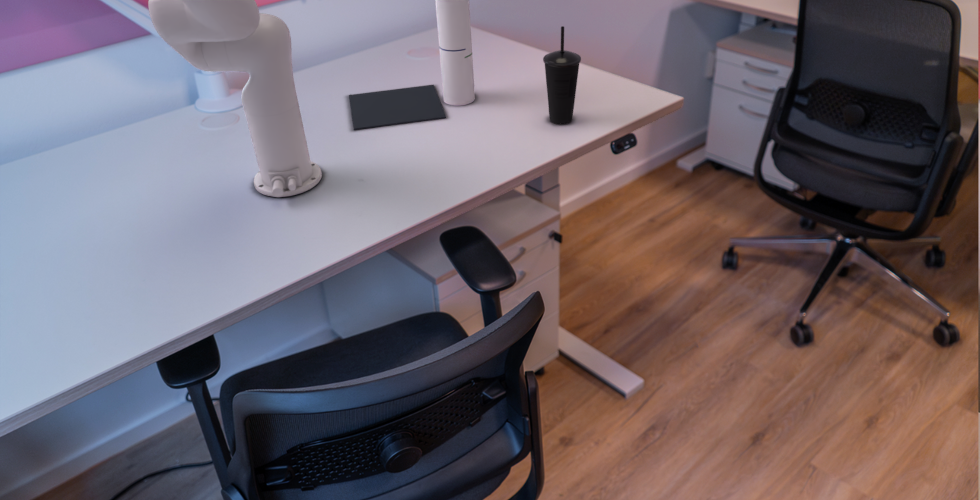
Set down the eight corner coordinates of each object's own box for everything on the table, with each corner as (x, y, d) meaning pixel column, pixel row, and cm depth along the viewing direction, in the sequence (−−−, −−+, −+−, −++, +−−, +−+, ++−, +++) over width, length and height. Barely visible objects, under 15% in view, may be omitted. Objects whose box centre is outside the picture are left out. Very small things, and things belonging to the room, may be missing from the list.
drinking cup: (578, 111, 158) (582, 20, 146) (579, 127, 152) (582, 33, 140) (543, 111, 159) (543, 20, 147) (542, 127, 152) (542, 33, 141)
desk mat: (446, 118, 158) (446, 116, 158) (353, 130, 155) (353, 128, 155) (433, 86, 172) (433, 84, 172) (348, 96, 169) (348, 95, 169)
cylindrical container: (438, 96, 167) (429, -15, 153) (467, 90, 170) (460, -20, 155) (450, 108, 162) (441, -6, 147) (479, 101, 164) (473, -12, 150)
